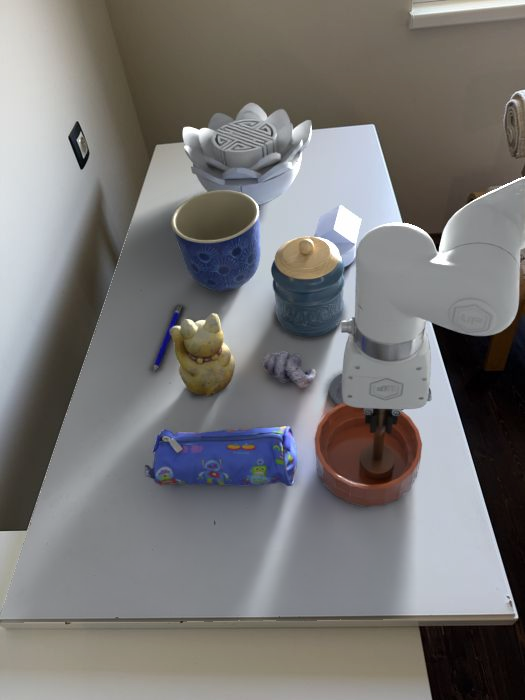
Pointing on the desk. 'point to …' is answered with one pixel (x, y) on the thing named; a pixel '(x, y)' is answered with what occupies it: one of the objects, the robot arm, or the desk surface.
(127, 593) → the desk surface
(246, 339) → the desk surface
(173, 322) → the pencil
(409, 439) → the mixing bowl
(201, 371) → the decorative figurine
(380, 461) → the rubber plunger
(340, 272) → the canister
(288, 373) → the seashell
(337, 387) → the robot arm
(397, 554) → the desk surface
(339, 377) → the grey round base
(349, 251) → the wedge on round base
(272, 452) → the pencil case
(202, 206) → the planter
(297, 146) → the decorative bowl
